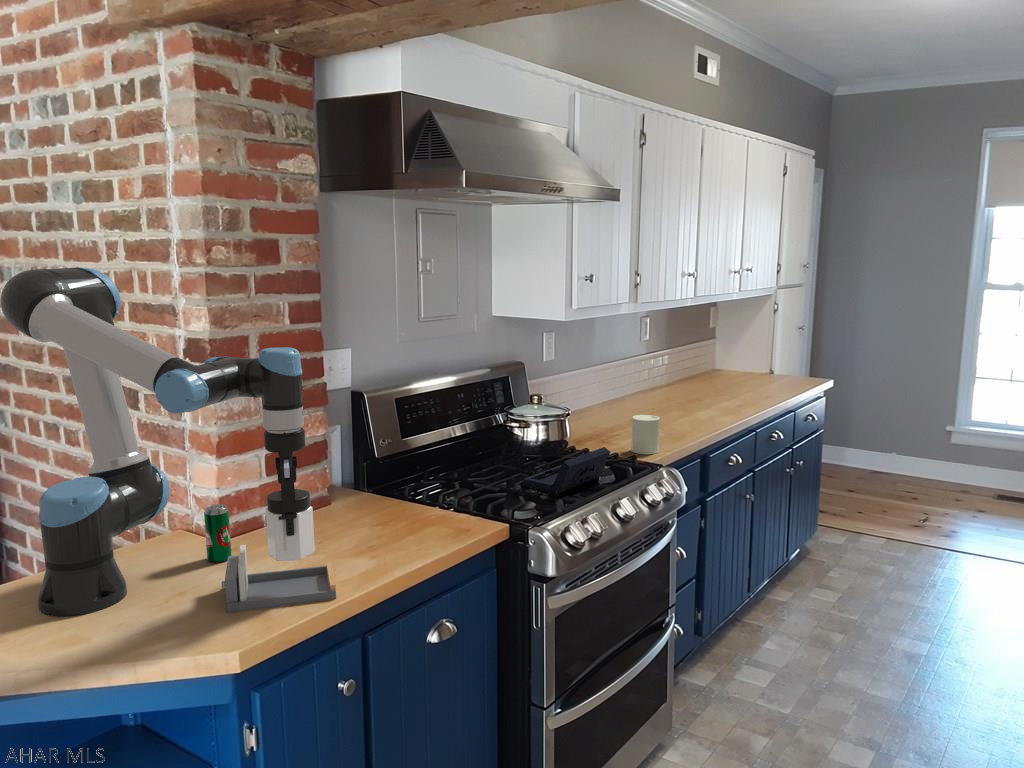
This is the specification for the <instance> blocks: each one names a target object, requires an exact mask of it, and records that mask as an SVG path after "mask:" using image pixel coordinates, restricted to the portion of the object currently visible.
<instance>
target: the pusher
mask: <svg viewBox="0 0 1024 768" xmlns="http://www.w3.org/2000/svg"><path fill="white" fill-rule="evenodd" d="M247 559H248V558H247V545H246V544H240V545H239V564H238V572H239V580H238V586H239V588H240V601H247V590H248V560H247ZM221 588H222V589H223V588H224V589H225V580H222V581H221Z"/></svg>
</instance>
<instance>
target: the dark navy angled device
mask: <svg viewBox="0 0 1024 768" xmlns="http://www.w3.org/2000/svg"><path fill="white" fill-rule="evenodd" d="M610 454H611V451H610V450H609V449H608V448H607V447H605V446H603V447H600V448H598V449H597V448H596V449H594V450H591V451H589V452H586V453H580V454H578V456H575V457H573V458H570V459H567V460H564V461H563V462H562V463H561V464H560V465H558V466H555V467H552V468H549V469H546V470H544V471H541V472H538V473H534V474H532V475H529V476H526V477H524V478H522V487H525V488H529V489H534V490H538V491H539V490H540V491H544V492H547V491H552V493H554V492H557V493H559V494H561V493H564V492H566V491H569V490H571V489H573V488H576V487H578V486H581V485H583V484H586V483H589V482H591V481H593V480H596V479H598V478H600V475H601V474H602V471H603V469H604V467H605V466H606V462H607V461H608V458H609V456H610ZM560 492H561V493H560Z"/></svg>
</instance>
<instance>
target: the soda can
mask: <svg viewBox="0 0 1024 768" xmlns="http://www.w3.org/2000/svg"><path fill="white" fill-rule="evenodd" d="M203 516H204V517H203V518H204V519H203V520H204V521H203V522H204V531H205V548H206V559H207V561H209V562H210V563H213V564H214V563H215V564H216V563H217V564H220V562H221V563H224V561H225V562H227V561H228V556H233V555H232V542H231V541H232V540H231V527H230V512H229V509H228V508H227V504H223V503H215V504H210V505H208V506H206V507H205V510H204V512H203Z"/></svg>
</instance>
